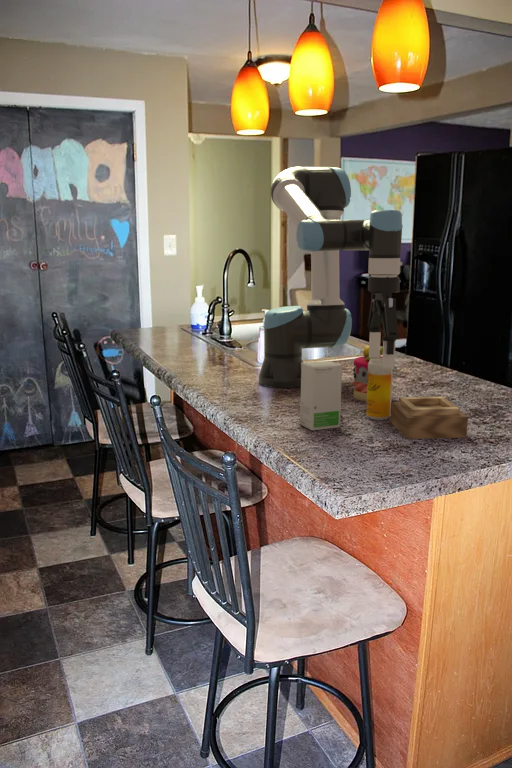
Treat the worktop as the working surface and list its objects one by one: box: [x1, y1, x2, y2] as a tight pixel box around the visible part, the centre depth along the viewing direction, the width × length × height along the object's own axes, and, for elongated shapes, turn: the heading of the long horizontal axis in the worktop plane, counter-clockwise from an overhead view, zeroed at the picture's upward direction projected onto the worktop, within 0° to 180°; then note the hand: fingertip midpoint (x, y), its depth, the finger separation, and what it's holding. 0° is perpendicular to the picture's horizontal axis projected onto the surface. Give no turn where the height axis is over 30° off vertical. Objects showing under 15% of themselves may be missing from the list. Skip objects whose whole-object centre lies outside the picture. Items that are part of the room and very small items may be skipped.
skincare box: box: [299, 360, 343, 431], centre depth 159 cm, size 8×7×16 cm
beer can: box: [365, 356, 394, 421], centre depth 166 cm, size 6×6×15 cm
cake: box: [351, 346, 383, 402], centre depth 185 cm, size 10×11×15 cm
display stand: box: [389, 396, 469, 440], centre depth 157 cm, size 14×14×6 cm
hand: (381, 362), depth 164 cm, fingers open, 13 cm apart
